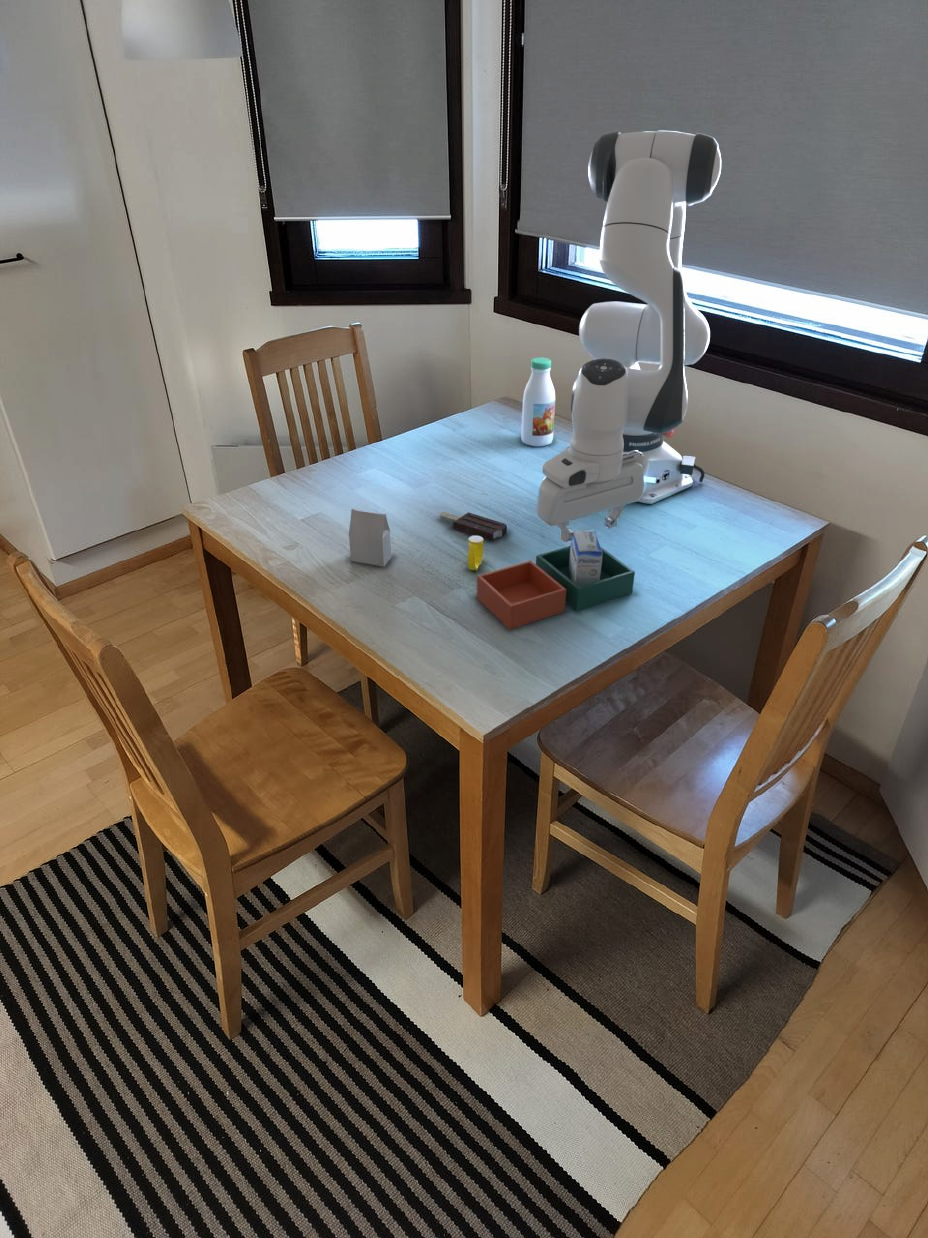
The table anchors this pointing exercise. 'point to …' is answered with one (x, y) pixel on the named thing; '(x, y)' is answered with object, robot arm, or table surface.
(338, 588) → the table surface
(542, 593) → the terracotta bin
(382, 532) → the tea bag
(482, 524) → the ice cream bar
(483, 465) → the table surface
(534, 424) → the milk bottle
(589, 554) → the medicine box
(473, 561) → the watch
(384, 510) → the table surface
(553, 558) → the green bin
